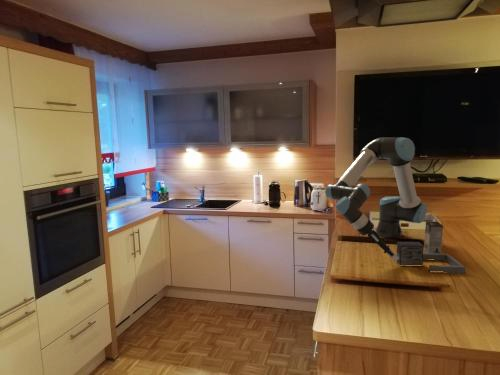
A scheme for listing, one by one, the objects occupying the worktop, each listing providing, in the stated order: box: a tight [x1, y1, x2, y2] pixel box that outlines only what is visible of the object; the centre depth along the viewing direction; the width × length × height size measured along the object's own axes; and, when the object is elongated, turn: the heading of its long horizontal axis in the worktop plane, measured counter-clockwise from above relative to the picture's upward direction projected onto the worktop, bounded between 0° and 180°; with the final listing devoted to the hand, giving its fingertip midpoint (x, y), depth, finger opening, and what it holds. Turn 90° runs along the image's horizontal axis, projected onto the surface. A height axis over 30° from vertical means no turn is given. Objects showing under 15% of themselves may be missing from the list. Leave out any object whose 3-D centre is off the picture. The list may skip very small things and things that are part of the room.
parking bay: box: [423, 252, 466, 275], centre depth 178 cm, size 18×15×3 cm
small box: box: [396, 241, 424, 266], centre depth 179 cm, size 11×6×10 cm, turn 85°
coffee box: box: [423, 221, 444, 254], centre depth 194 cm, size 9×6×16 cm
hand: (396, 259), depth 178 cm, fingers closed
